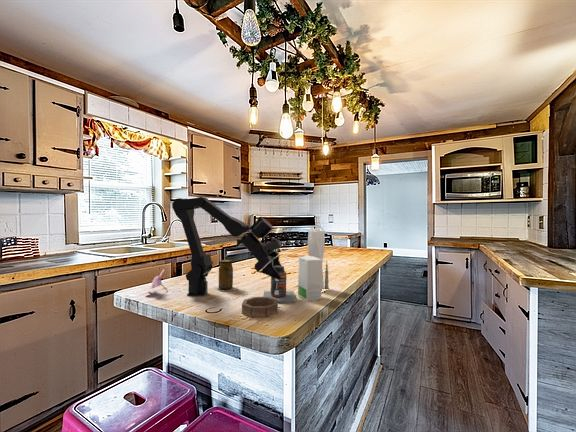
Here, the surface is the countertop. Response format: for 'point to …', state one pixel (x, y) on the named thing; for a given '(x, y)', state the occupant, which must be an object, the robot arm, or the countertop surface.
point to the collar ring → (260, 307)
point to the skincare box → (310, 278)
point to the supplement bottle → (279, 283)
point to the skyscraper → (318, 249)
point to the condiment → (226, 276)
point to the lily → (156, 282)
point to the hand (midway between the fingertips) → (282, 276)
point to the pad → (286, 299)
